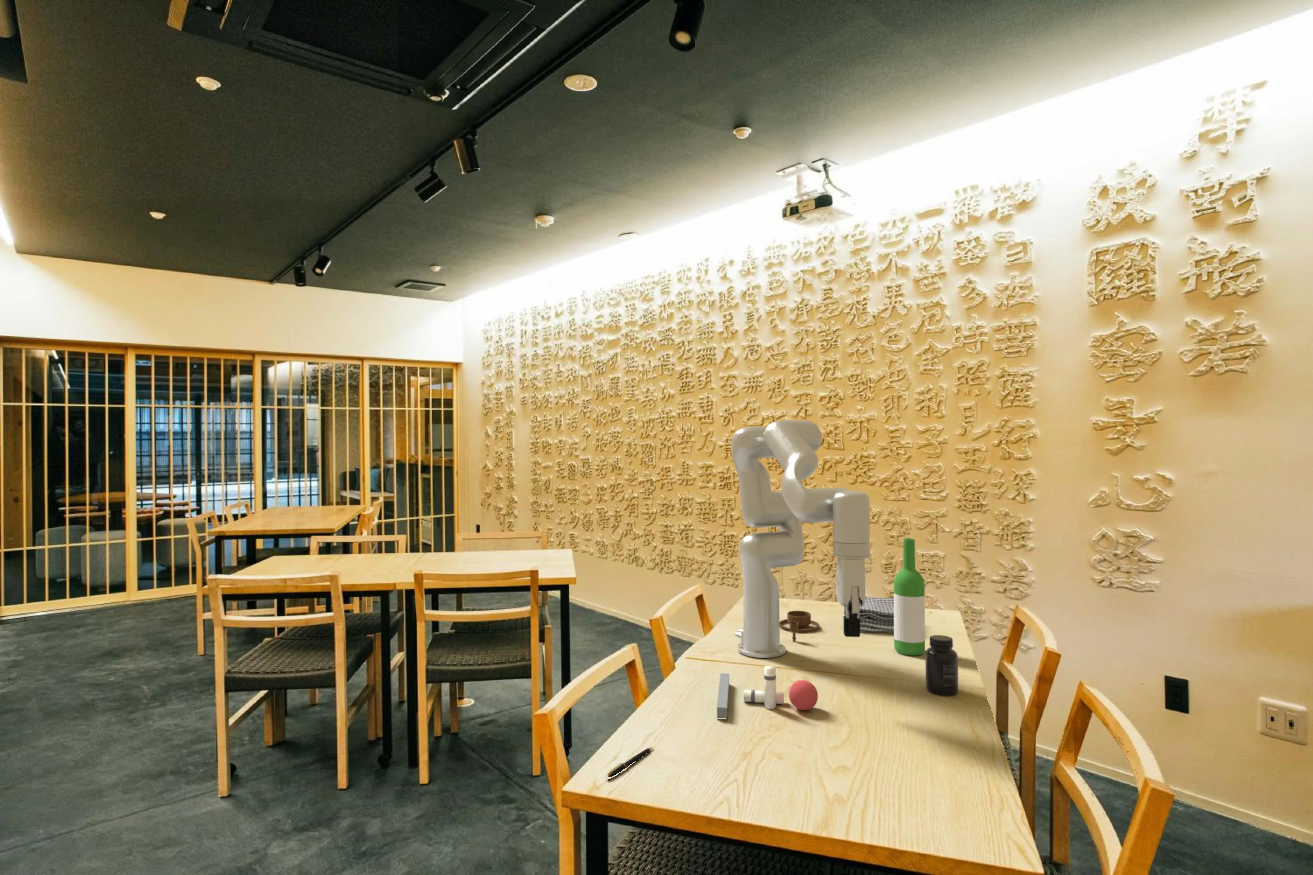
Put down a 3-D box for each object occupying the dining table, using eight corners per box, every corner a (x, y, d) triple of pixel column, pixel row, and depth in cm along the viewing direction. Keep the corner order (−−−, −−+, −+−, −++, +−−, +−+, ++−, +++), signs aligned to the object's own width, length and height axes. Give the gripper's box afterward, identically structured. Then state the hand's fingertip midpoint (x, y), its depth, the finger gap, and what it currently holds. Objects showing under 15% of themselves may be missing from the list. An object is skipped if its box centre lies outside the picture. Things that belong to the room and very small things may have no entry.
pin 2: (761, 706, 146) (761, 667, 146) (769, 704, 148) (769, 664, 147) (770, 710, 144) (770, 670, 144) (778, 707, 146) (778, 667, 145)
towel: (843, 618, 216) (843, 594, 216) (905, 622, 212) (905, 596, 212) (846, 632, 201) (846, 605, 201) (912, 636, 197) (912, 609, 197)
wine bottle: (912, 658, 177) (911, 542, 176) (887, 650, 183) (887, 538, 183) (931, 653, 181) (931, 539, 181) (906, 645, 187) (906, 535, 187)
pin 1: (783, 705, 148) (744, 702, 149) (783, 693, 149) (744, 690, 151) (783, 702, 146) (743, 700, 147) (783, 690, 147) (744, 688, 149)
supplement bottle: (958, 687, 156) (958, 635, 156) (958, 698, 150) (957, 643, 150) (926, 683, 159) (926, 631, 159) (924, 693, 153) (924, 639, 153)
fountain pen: (651, 749, 128) (650, 741, 128) (656, 750, 127) (656, 742, 127) (603, 782, 116) (603, 773, 116) (609, 784, 115) (609, 775, 115)
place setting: (836, 631, 203) (836, 611, 203) (797, 646, 189) (797, 625, 189) (787, 620, 216) (787, 601, 216) (747, 633, 202) (747, 613, 202)
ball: (800, 675, 143) (825, 685, 144) (787, 676, 148) (812, 685, 149) (794, 704, 140) (819, 714, 141) (781, 704, 146) (806, 714, 146)
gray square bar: (720, 683, 160) (720, 673, 160) (729, 684, 159) (729, 673, 159) (717, 719, 140) (716, 707, 140) (726, 719, 139) (726, 707, 139)
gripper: (829, 543, 154) (829, 625, 154) (837, 555, 139) (838, 645, 139) (863, 544, 153) (863, 626, 153) (876, 556, 138) (876, 647, 138)
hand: (851, 635), depth 146 cm, fingers closed
